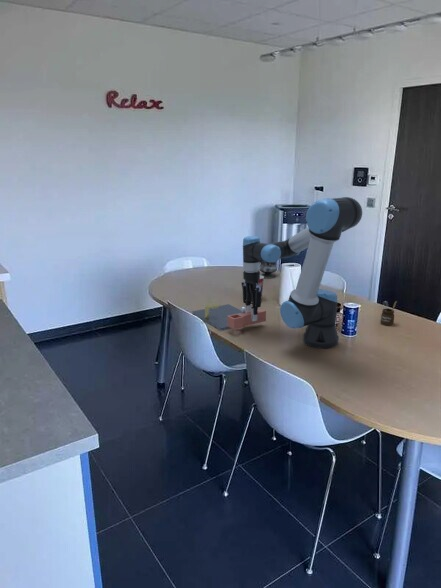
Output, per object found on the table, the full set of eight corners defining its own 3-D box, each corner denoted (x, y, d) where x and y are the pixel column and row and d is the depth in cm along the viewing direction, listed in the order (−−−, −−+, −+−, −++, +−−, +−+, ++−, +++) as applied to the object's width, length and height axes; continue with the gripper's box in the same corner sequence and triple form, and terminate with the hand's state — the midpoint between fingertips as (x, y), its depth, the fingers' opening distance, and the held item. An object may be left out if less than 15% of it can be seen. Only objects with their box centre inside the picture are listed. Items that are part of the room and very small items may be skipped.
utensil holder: (383, 320, 223) (386, 297, 219) (396, 324, 218) (398, 300, 215) (378, 323, 219) (380, 300, 215) (390, 327, 214) (393, 302, 211)
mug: (259, 303, 249) (260, 279, 245) (244, 301, 253) (244, 277, 249) (268, 297, 260) (268, 274, 256) (253, 295, 264) (254, 272, 260)
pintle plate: (260, 321, 222) (260, 319, 222) (220, 330, 211) (220, 328, 211) (229, 306, 245) (229, 303, 245) (192, 313, 234) (192, 311, 234)
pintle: (246, 316, 226) (246, 307, 225) (242, 317, 225) (242, 308, 223) (244, 315, 228) (244, 306, 226) (240, 316, 227) (240, 306, 225)
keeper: (217, 317, 228) (217, 302, 226) (219, 321, 222) (218, 306, 220) (204, 318, 227) (204, 302, 225) (205, 322, 222) (205, 306, 219)
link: (260, 318, 219) (260, 308, 218) (267, 321, 215) (267, 311, 213) (227, 326, 210) (227, 315, 209) (234, 329, 205) (233, 319, 204)
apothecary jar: (277, 279, 297) (278, 251, 292) (259, 279, 298) (259, 252, 292) (275, 274, 309) (276, 248, 304) (258, 274, 309) (258, 248, 304)
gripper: (269, 272, 202) (268, 322, 208) (248, 266, 215) (248, 313, 222) (255, 275, 198) (255, 326, 204) (234, 268, 212) (235, 316, 218)
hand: (251, 319), depth 213 cm, fingers closed on link, 3 cm apart
